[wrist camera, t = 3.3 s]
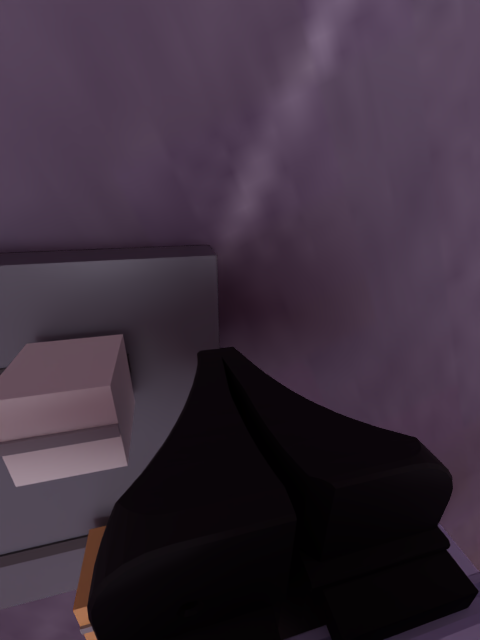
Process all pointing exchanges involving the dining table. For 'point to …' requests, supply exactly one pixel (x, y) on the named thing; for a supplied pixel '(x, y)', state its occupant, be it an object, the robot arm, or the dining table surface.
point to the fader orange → (87, 582)
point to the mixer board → (145, 371)
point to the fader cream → (66, 409)
